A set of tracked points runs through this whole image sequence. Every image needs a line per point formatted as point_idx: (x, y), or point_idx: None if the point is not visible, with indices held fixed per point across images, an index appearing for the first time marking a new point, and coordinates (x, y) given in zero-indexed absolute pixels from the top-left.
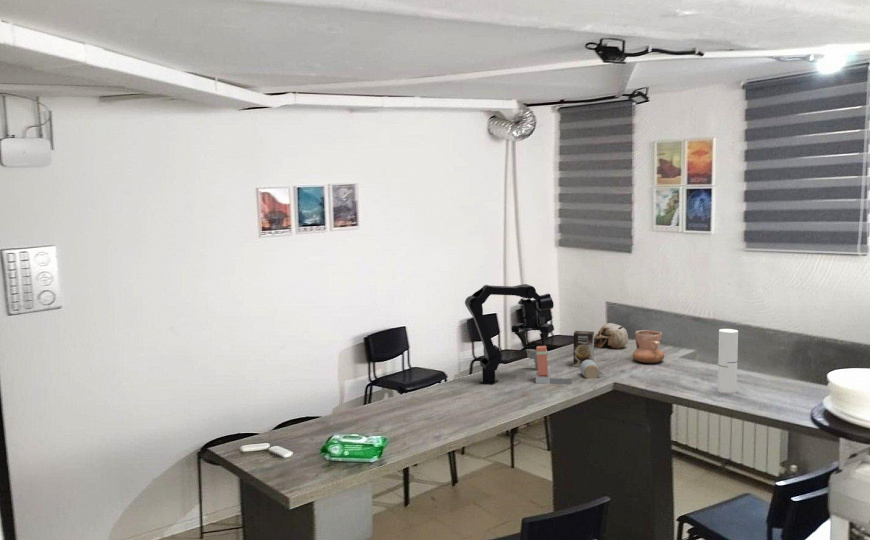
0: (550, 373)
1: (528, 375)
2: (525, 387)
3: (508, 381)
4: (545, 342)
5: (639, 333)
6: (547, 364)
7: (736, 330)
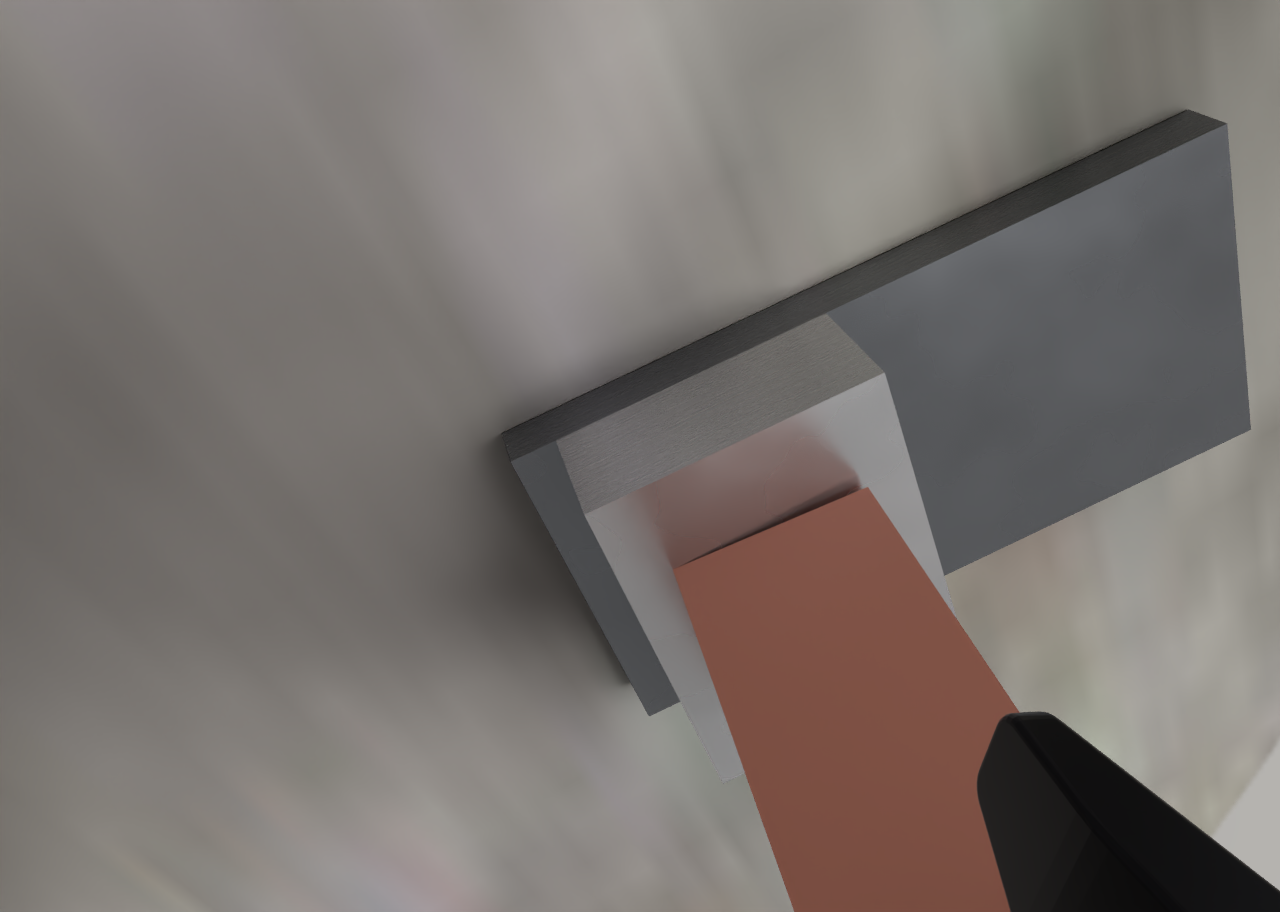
0: (898, 430)
1: (127, 135)
2: (557, 800)
3: (76, 730)
4: (1237, 906)
5: None
6: (955, 624)
7: None
